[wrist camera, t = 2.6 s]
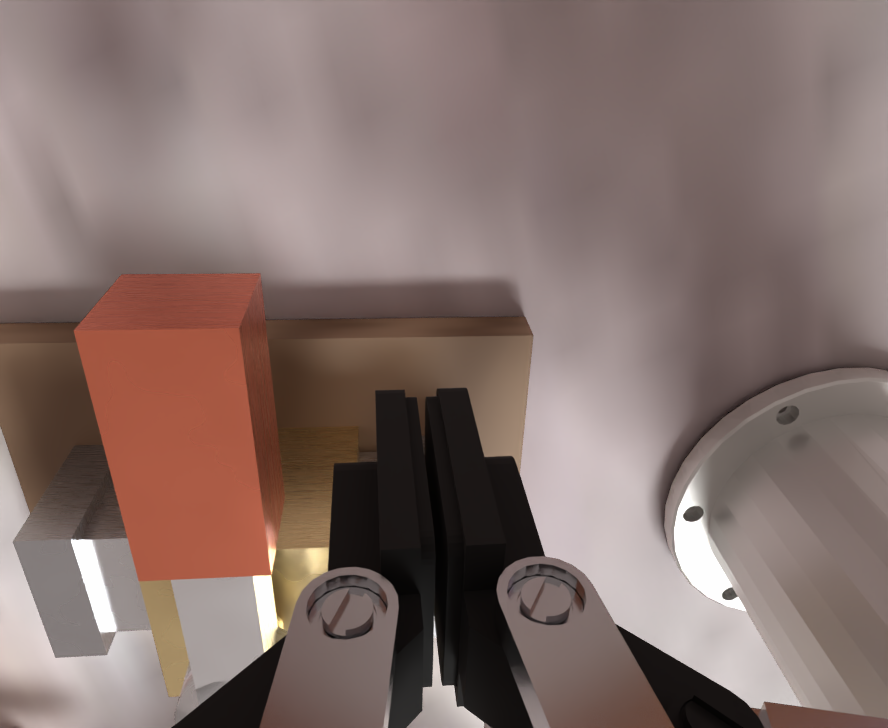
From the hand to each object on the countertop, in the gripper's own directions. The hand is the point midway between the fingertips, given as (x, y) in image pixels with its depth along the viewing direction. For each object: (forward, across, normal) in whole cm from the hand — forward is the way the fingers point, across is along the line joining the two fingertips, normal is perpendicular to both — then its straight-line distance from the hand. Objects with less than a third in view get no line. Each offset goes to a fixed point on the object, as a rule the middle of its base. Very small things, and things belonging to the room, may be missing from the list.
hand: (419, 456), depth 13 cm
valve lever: (+4, +5, +4) cm, 7 cm away
